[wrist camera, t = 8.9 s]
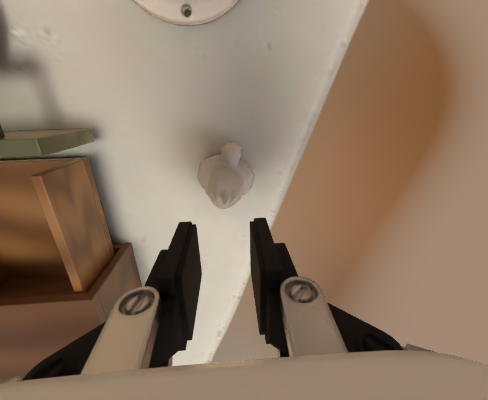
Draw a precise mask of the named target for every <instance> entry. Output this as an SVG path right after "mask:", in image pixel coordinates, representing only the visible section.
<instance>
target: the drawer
mask: <svg viewBox="0 0 488 400" xmlns="http://www.w3.org/2000/svg"><path fill="white" fill-rule="evenodd" d="M91 142H94V138H93V134H92V130H91V129H66V130H37V131H8V132H3V130H2V127H1V125H0V158H10V157H35V156H45V155H48V154H52V153H56V152H59V151H63V150H66V149H70V148H73V147H77V146H80V145H84V144H87V143H91ZM114 256H115V252H114V248H113V244H112V241H111V237H110V234H109V230H108V227H107V223H106V220H105V216H104V213H103V209H102V205H101V202H100V198H99V195H98V191H97V188H96V184H95V181H94V177H93V173H92V170H91V166H90V163H89V159H88V158H87V157H84V158H59V159H35V160H10V161H0V299H5V298H20V297H35V296H50V295H64V294H79V293H88V291H89V290H90V288H91V287H92V286H93V284H94V283H95V282H96V280H97V279H98V278H99V276H100V275H101V274H102V272H103V271H104V270H105V268H106V267H107V266H108V264H109V263H110V261H111V260H112V259H113V257H114Z"/></svg>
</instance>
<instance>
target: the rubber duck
mask: <svg viewBox="0 0 488 400" xmlns="http://www.w3.org/2000/svg"><path fill="white" fill-rule="evenodd" d="M241 151H242V150H241V147H240V146H239V145H238V144H236V143H234V142H229V143H226V144H225V145H224V146H223V148H222V153H221V154H220V155H215V156H212V157H210V158H207V159H205V160H203V161H202V162H201V163H200V166H199V172H198V180H199V182H200V184H201V186H202V187H203V188H204V189H205V192H206V194H207V195H208V196H209V197H210V199H211V201H212V202H213V203H214V205H215V206H217V207H218V208H222V209H225V208H229V207H231V206H232V205H234V204H235V203H236V202H238V201H239V200H240V198H241V196H242V195H244V194H246V193H247V192H248V191H249V190H250V189H251V187H252V184H253V180H254V172H253V170H252V169H251V168H250V167H249V166H248V165H247V164H246V163H245V162H244V161H242V160H241V159H240V156H241Z"/></svg>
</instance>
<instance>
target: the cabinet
mask: <svg viewBox="0 0 488 400" xmlns="http://www.w3.org/2000/svg"><path fill="white" fill-rule="evenodd" d="M113 248H114V252H115V256H114V257H113V259H112V260H111V261H110V263H109V264H108V266H107V267H106V268H105V270H104V271H103V272H102V274H101V275H100V276H99V278H98V279H97V280H96V282H95V283H94V284H93V286H92V287H91V288H90V290H89V291H88V293H79V294H64V295H50V296H35V297H20V298H5V299H0V383H2V382H4V381H7V380H9V379H12V378H14V377H16V376H20V378H21V379H23V378H24V377H25V376H26V374H27V373H28V372H29V371H30V370H31V369H32V368H33V367H34V366H36V365H37V364H38V363H40V362H41V361H42V360H44V359H45V358H47V357H49V356H50V355H52V354H53V353H55V352H57V351H58V350H60V349H62V348H63V347H65V346H66V345H68V344H70V343H71V342H73V341H75V340H76V339H78V338H79V337H81V336H83V335H84V334H86V333H88V332H89V331H91V330H92V329H94V328H96V327H97V326H99V325H101V324H102V323H104V322H105V321H107V319H108V317H109V315H110V313H111V311H112V308H113V306H114V304H115V303H116V301H117V300H118V299H119V298H120V297H121V296H122V295H123V294H125V293H126V292H128V291H129V290H132V289H134V288H138V287H142V286H141V282H140V278H139V274H138V270H137V266H136V261H135V257H134V253H133V249H132V245H131V243H126V244H113Z"/></svg>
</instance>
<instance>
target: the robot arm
mask: <svg viewBox="0 0 488 400" xmlns="http://www.w3.org/2000/svg"><path fill="white" fill-rule="evenodd" d="M133 1H134V2H135V3H136V4H137V5H139V6H140V7H141V8H143V9H144V10H145V11H147V12H148V13H149V14H151V15H153V16H155V17H157V18H159V19H161V20H163V21H166V22H169V23H173V24H177V25H192V26H193V25H198V24H204V23H207V22H210V21H212V20H214V19H217V18H219V17H220V16H222V15H223V14H224V13H226V12H227V11H228V10H230V9H231V8H232V7H233V6H234V5H235V4H236V3H237V1H238V0H133ZM186 11H190V12H191V15H190V16H189V17H187V16H185V12H186ZM250 257H251V276H252V283H253V290H254V298H255V305H256V312H257V319H258V326H259V333H260V335H264V334H265V340H266V344H272V345H273V346H274V347H276V348H277V349H278V358H270V359H256V360H244V361H231V362H220V363H207V364H195V365H183V366H172V356H173V355H174V354H175V353H176V352H178V351H182V350H186V344H187V340H192V336H193V330H194V323H195V316H196V310H197V303H198V296H199V290H200V283H201V275H202V272H201V262H200V253H199V245H198V236H197V227H196V224H193V225H192V222H179V224H178V227H177V229H176V231H175V234H174V236H173V239H172V241H171V244H170V246H169V249H168V250H161V251H160V253H159V255H158V257H157V259H156V262H155V264H154V266H153V268H152V270H151V273H150V275H149V277H148V279H147V281H146V283H145V286H143V287H138V288H134V289H132V290H129V291H128V292H126V293H125V294H123V295H122V296H121V297H120V298H119V299H118V300H117V301H116V303H115V304H114V306H113V308H112V311H111V313H110V315H109V317H108V319H107V321H105V322H104V323H102V324H101V325H99V326H97V327H96V328H94V329H92V330H91V331H89V332H88V333H86V334H84V335H83V336H81V337H79V338H78V339H76V340H75V341H73V342H71V343H70V344H68V345H66V346H65V347H63V348H62V349H60V350H58V351H57V352H55V353H53V354H52V355H50V356H49V357H47V358H45V359H44V360H42V361H41V362H40V363H38V364H37V365H36V366H34V367H33V368H32V369H31V370H30V371H29V372H28V373H27V374H26V376H25V377H24V378H23V379H21V378H20V376H16V377H14V378H12V379H9V380H7V381H4V382H2V383H0V400H488V365H486V364H483V363H480V362H477V361H473V360H469V359H465V358H462V357H458V356H454V355H448V354H442V353H437V352H434V351H430V350H427V349H424V348H420V347H417V346H413V345H410V344H407V345H406V347H402V346H400V344H399V343H398V342H397V341H396V340H395V339H393V337H391V336H390V335H388V334H387V333H385V332H383V331H381V330H379V329H377V328H376V327H374V326H371V325H370V324H368V323H366V322H364V321H362V320H360V319H358V318H356V317H354V316H352V315H350V314H348V313H347V312H345V311H343V310H341V309H339V308H337V307H335V306H333V305H331V304H329V303H327V301H326V299H325V296H324V294H323V292H322V290H321V288H320V286H319V285H318V284H317V283H315V282H314V281H312V280H310V279H308V278H305V277H298V275H297V272H296V270H295V267H294V265H293V263H292V260H291V258H290V255H289V253H288V250H287V248H286V246H285V244H284V243H274V242H273V239H272V236H271V233H270V230H269V227H268V224H267V221H266V218H254V221H250Z"/></svg>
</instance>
